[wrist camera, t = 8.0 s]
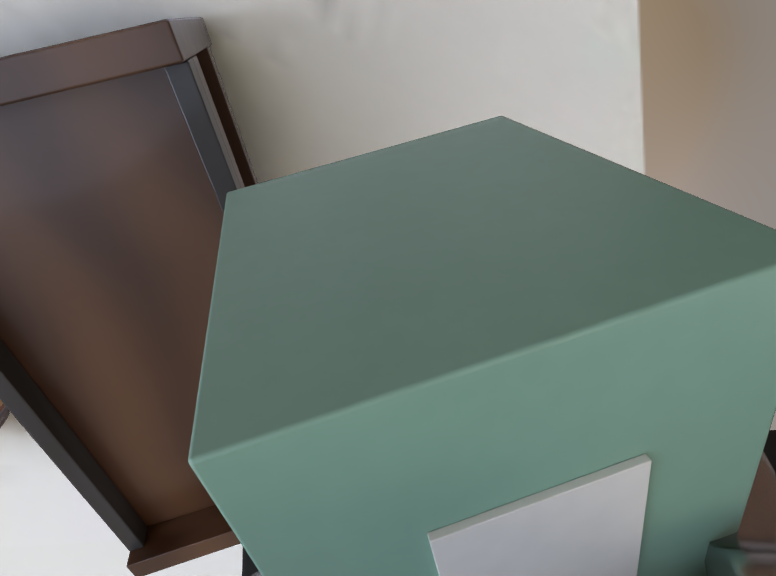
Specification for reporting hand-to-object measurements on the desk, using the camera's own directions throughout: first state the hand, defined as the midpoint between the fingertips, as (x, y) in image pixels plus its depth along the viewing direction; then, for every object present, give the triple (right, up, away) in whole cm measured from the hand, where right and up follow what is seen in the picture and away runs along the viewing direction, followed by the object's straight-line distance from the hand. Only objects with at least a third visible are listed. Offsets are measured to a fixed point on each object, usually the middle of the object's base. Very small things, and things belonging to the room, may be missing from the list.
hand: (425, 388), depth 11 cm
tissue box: (0, +1, +1) cm, 1 cm away
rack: (-13, +3, +17) cm, 22 cm away
